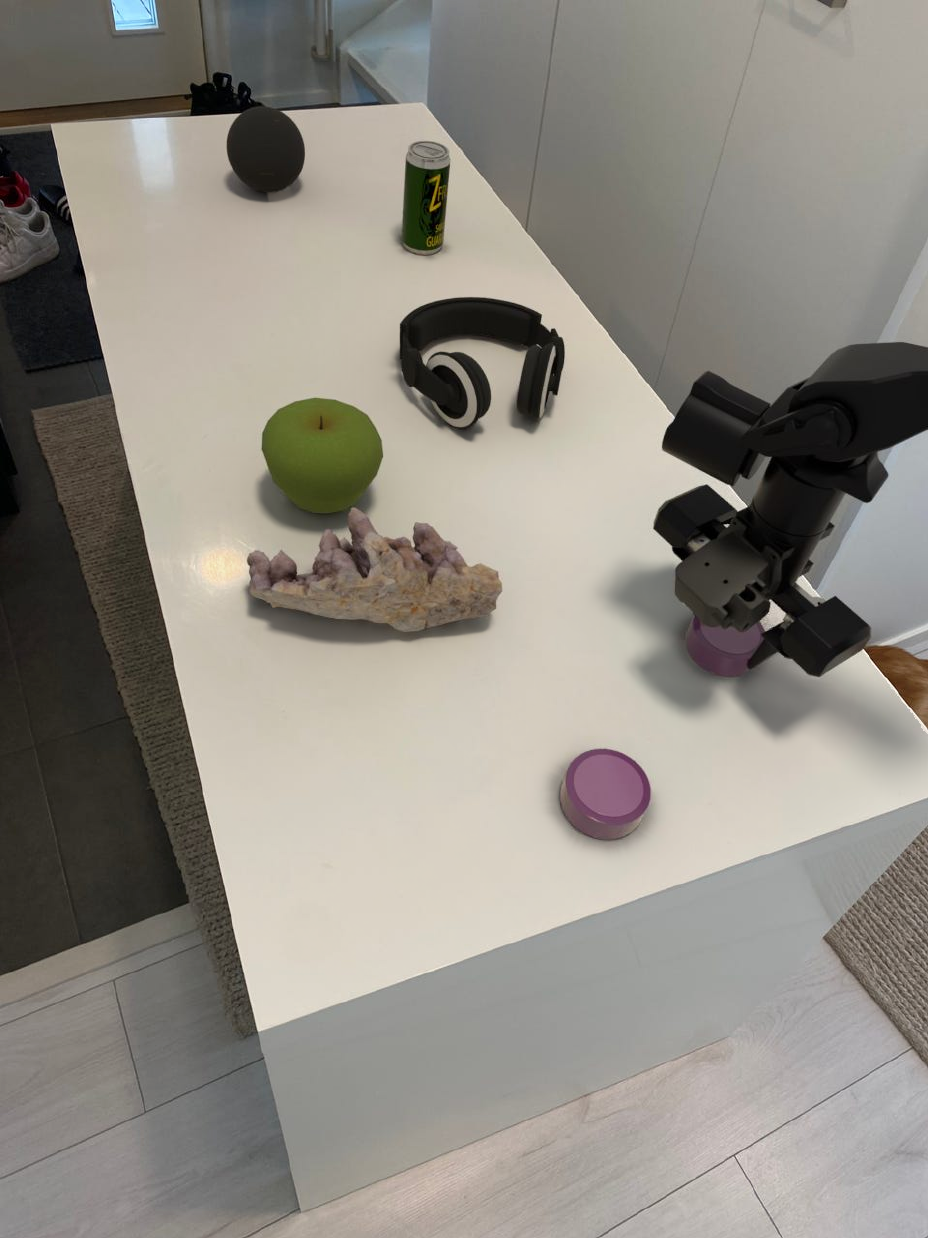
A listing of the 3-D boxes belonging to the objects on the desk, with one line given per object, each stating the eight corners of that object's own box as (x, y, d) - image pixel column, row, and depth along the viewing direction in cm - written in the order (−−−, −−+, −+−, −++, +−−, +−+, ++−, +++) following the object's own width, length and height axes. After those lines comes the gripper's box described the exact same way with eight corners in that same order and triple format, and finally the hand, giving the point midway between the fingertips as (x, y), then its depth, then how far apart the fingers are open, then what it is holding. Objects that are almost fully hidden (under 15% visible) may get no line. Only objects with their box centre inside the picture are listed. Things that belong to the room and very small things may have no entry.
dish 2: (772, 657, 82) (782, 640, 80) (720, 688, 79) (730, 670, 77) (721, 609, 85) (729, 591, 83) (670, 636, 82) (677, 618, 80)
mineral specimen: (252, 631, 71) (258, 499, 70) (241, 616, 80) (247, 500, 79) (504, 640, 77) (513, 519, 76) (466, 625, 87) (474, 517, 86)
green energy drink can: (393, 246, 119) (397, 150, 110) (415, 229, 122) (421, 135, 113) (429, 260, 118) (436, 164, 109) (450, 243, 121) (459, 149, 112)
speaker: (214, 187, 124) (206, 108, 117) (264, 163, 130) (259, 86, 122) (272, 214, 121) (267, 134, 114) (321, 188, 127) (320, 110, 119)
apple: (402, 502, 90) (408, 419, 82) (319, 555, 84) (317, 471, 76) (326, 445, 94) (326, 361, 86) (242, 492, 88) (233, 406, 81)
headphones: (432, 378, 89) (380, 286, 102) (428, 448, 94) (379, 352, 107) (603, 362, 93) (531, 276, 107) (589, 430, 99) (523, 340, 112)
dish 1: (660, 813, 71) (669, 797, 69) (596, 855, 68) (603, 840, 66) (606, 751, 74) (613, 734, 72) (542, 788, 71) (548, 772, 69)
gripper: (627, 468, 70) (585, 603, 82) (813, 637, 61) (735, 761, 73) (731, 424, 75) (677, 558, 87) (917, 575, 66) (828, 701, 78)
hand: (724, 639), depth 81 cm, fingers closed on dish 2, 6 cm apart
